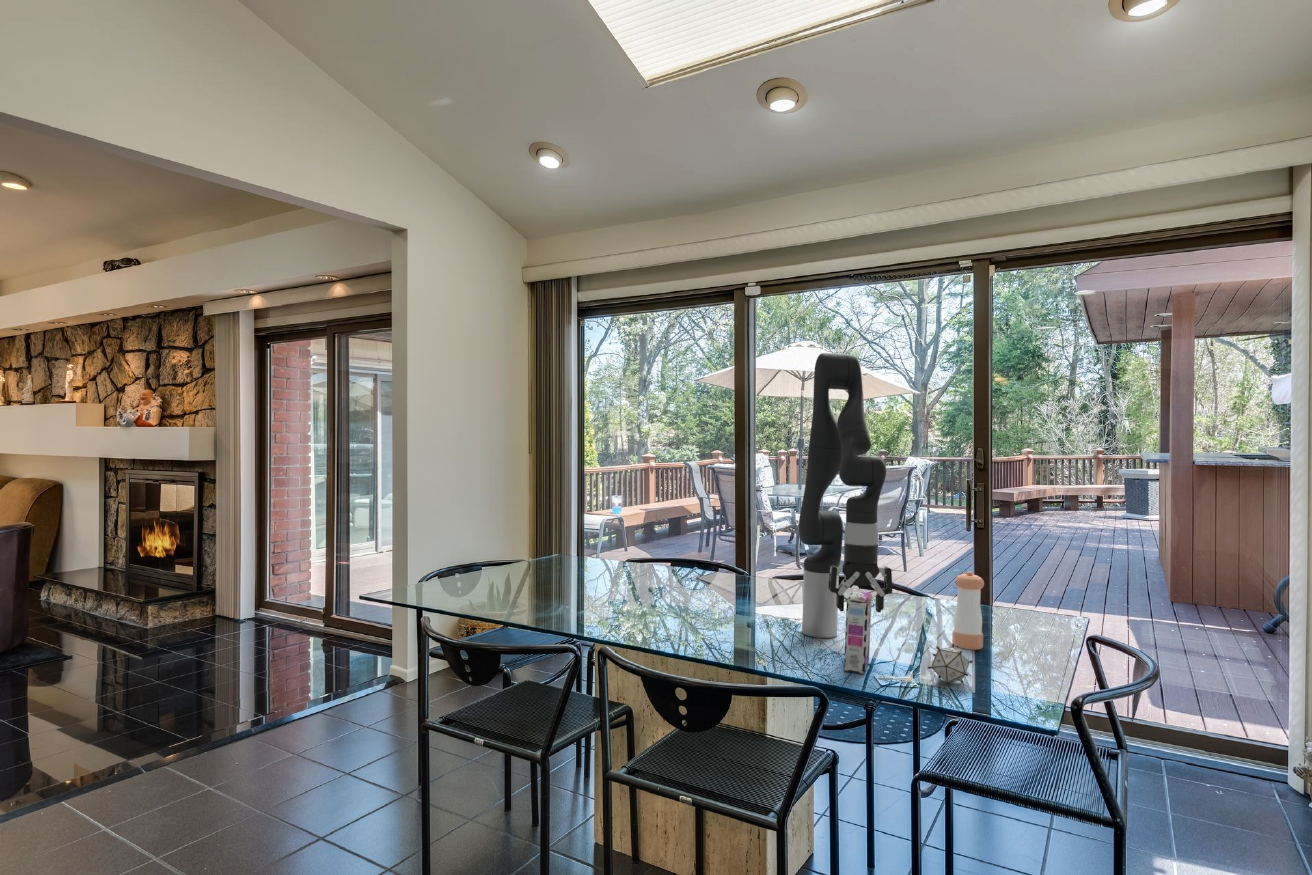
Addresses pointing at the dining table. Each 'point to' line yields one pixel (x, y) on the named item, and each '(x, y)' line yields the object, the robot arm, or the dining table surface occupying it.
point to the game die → (950, 665)
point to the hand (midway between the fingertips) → (859, 611)
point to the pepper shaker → (968, 612)
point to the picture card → (896, 679)
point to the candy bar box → (857, 632)
